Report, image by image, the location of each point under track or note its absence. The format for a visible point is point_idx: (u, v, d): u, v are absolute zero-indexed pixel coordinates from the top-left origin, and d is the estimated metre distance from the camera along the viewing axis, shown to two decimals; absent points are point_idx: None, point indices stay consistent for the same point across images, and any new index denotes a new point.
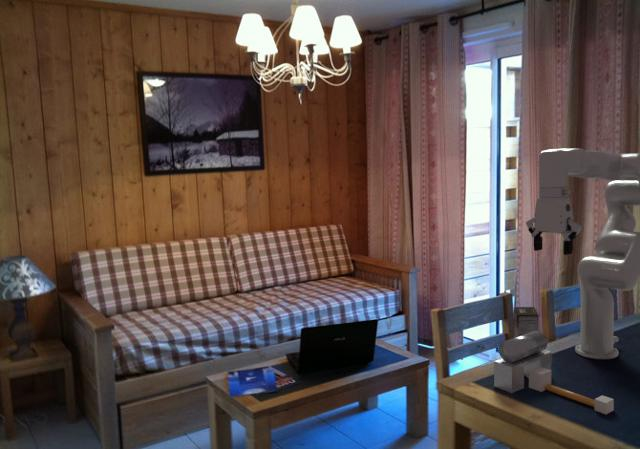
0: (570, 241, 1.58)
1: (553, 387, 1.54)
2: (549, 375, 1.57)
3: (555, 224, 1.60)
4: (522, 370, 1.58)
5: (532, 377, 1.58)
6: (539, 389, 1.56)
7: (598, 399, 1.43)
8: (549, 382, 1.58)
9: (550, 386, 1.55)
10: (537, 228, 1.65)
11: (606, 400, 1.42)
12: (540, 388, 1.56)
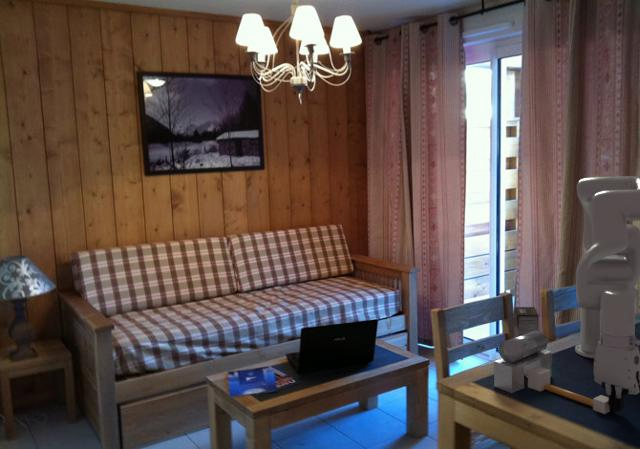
0: (621, 398, 1.39)
1: (552, 387, 1.55)
2: (548, 375, 1.58)
3: (621, 378, 1.36)
4: (522, 370, 1.58)
5: (531, 377, 1.58)
6: (538, 389, 1.56)
7: (597, 399, 1.43)
8: (548, 382, 1.58)
9: (549, 386, 1.55)
10: (597, 377, 1.41)
11: (605, 400, 1.42)
12: (539, 388, 1.56)
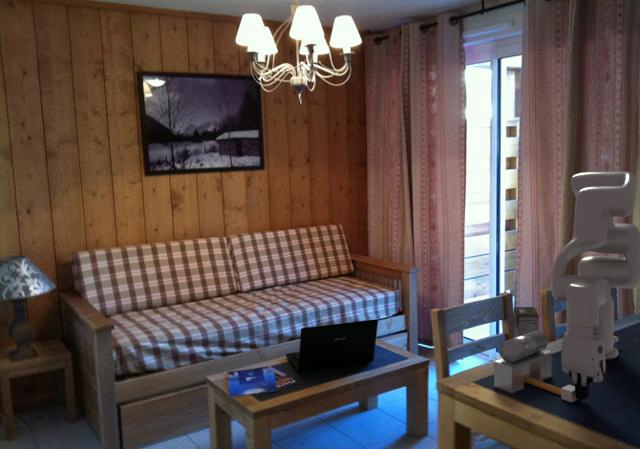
0: (586, 386, 1.46)
1: (525, 377, 1.62)
2: None
3: (586, 366, 1.43)
4: (522, 370, 1.58)
5: None
6: None
7: (564, 388, 1.50)
8: None
9: None
10: (564, 366, 1.49)
11: (572, 389, 1.49)
12: None
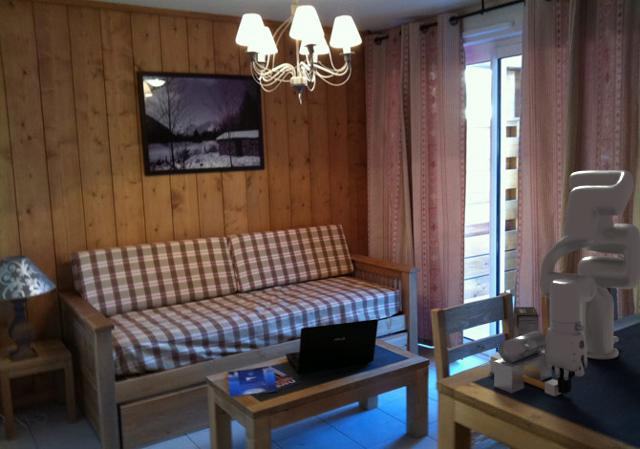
0: (568, 380, 1.50)
1: None
2: None
3: (568, 361, 1.47)
4: (522, 370, 1.58)
5: (493, 362, 1.70)
6: None
7: (548, 382, 1.54)
8: None
9: None
10: (547, 361, 1.53)
11: (555, 383, 1.53)
12: None
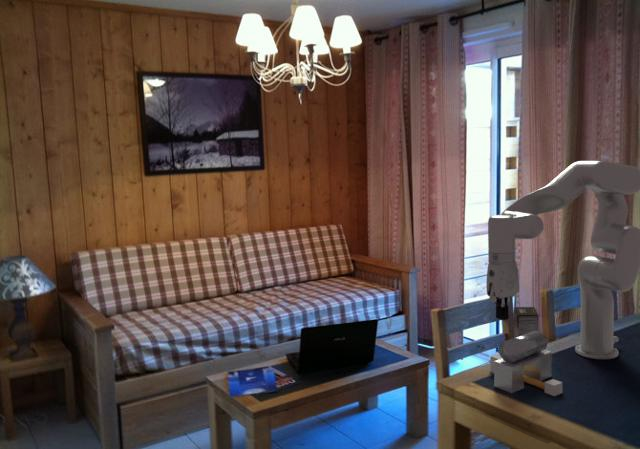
0: (497, 306, 1.66)
1: None
2: None
3: None
4: (522, 370, 1.58)
5: (493, 362, 1.70)
6: None
7: (548, 382, 1.55)
8: None
9: None
10: None
11: (555, 383, 1.54)
12: None
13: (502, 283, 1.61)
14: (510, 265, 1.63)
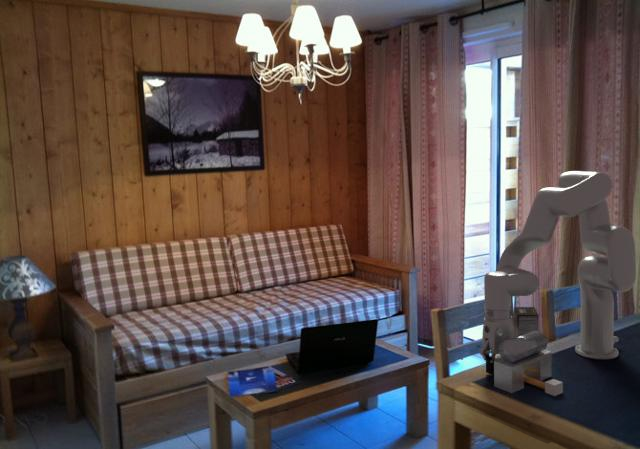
0: (487, 362, 1.68)
1: None
2: None
3: None
4: (522, 370, 1.58)
5: None
6: None
7: (548, 382, 1.55)
8: None
9: None
10: None
11: (555, 383, 1.54)
12: None
13: (497, 340, 1.65)
14: (506, 321, 1.66)
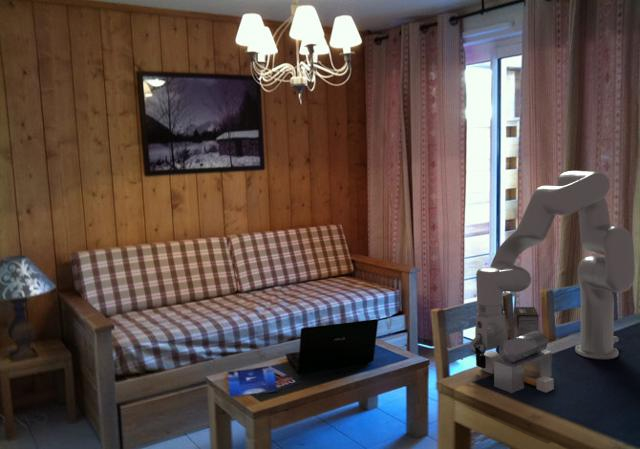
0: (477, 355, 1.69)
1: None
2: (499, 358, 1.71)
3: None
4: (522, 370, 1.58)
5: None
6: (490, 371, 1.70)
7: (539, 379, 1.57)
8: None
9: None
10: None
11: (546, 380, 1.56)
12: (491, 370, 1.70)
13: (490, 335, 1.67)
14: (498, 316, 1.69)
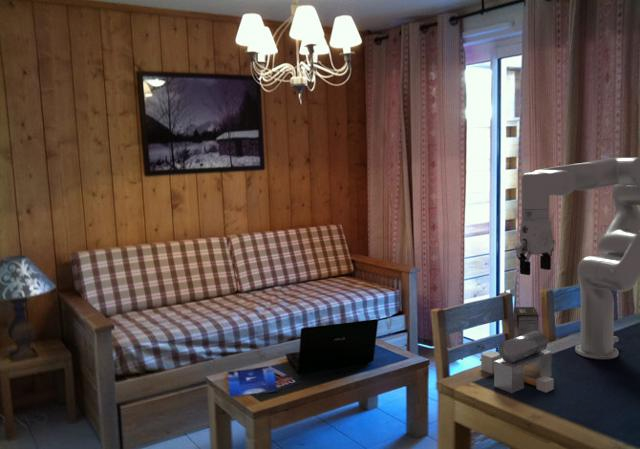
0: (521, 261, 1.64)
1: None
2: (499, 358, 1.71)
3: None
4: (522, 370, 1.58)
5: (484, 360, 1.72)
6: (490, 371, 1.70)
7: (539, 379, 1.57)
8: None
9: None
10: None
11: (546, 380, 1.56)
12: (491, 370, 1.70)
13: (536, 239, 1.62)
14: (544, 221, 1.63)
